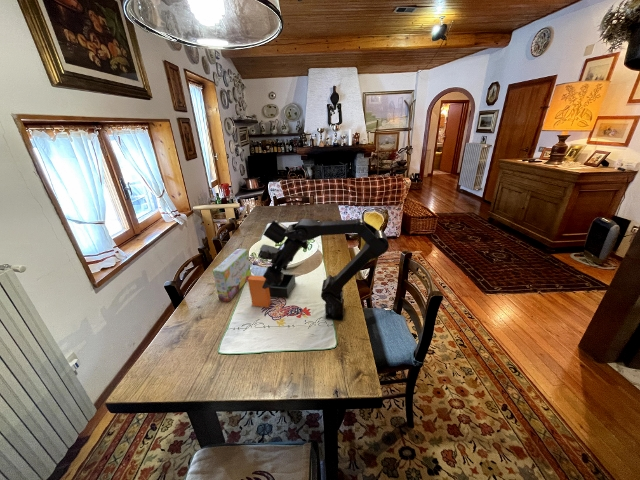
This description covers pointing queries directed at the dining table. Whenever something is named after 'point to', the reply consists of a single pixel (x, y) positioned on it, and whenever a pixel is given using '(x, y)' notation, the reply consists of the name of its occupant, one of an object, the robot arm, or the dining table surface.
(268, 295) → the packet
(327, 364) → the dining table surface
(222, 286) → the snack box
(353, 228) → the robot arm
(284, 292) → the black square tray
